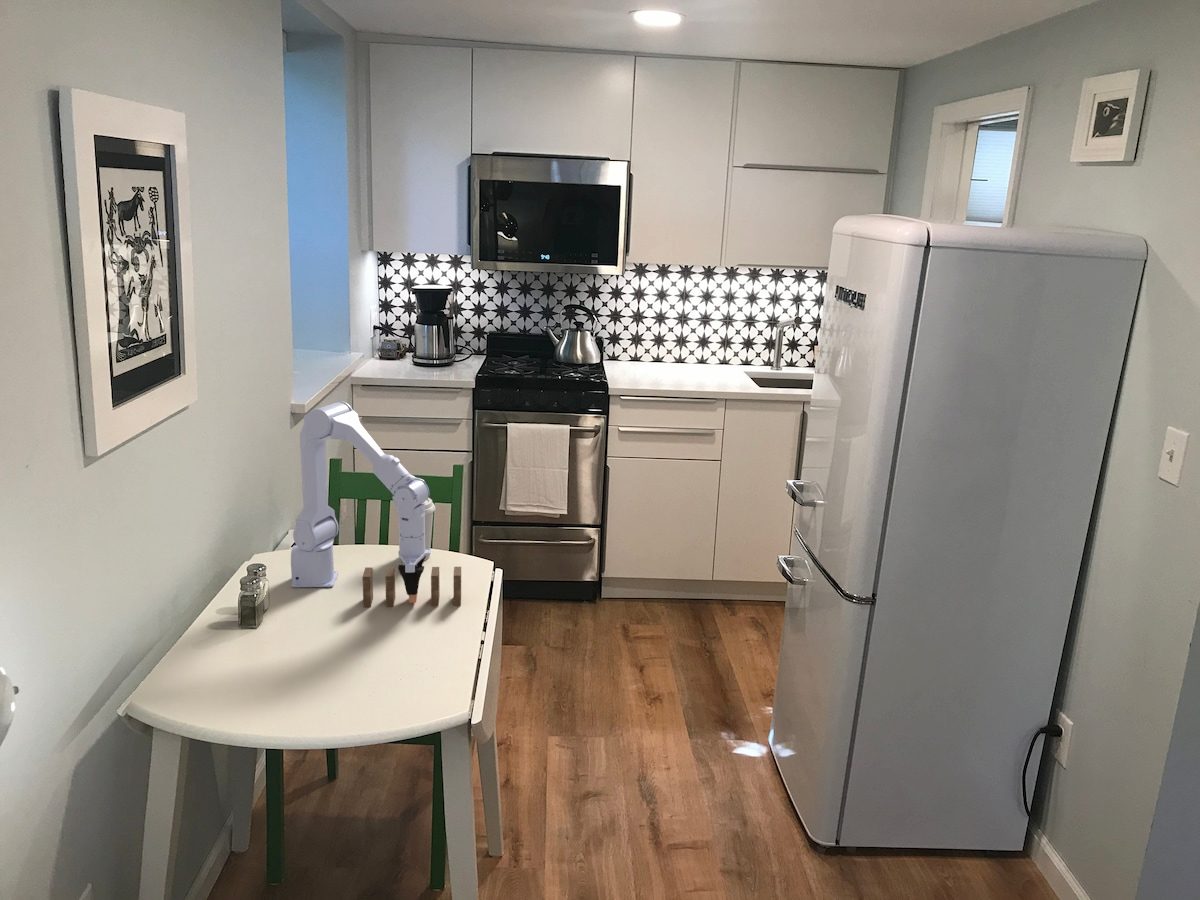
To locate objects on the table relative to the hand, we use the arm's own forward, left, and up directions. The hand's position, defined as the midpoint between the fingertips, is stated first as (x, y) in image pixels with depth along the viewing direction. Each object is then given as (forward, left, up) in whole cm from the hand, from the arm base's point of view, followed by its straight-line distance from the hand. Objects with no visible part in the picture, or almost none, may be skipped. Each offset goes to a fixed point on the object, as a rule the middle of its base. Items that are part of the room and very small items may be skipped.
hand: (412, 589), depth 213 cm
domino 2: (-5, 0, -3) cm, 6 cm away
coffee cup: (-1, +26, -3) cm, 26 cm away
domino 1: (-10, 0, -3) cm, 10 cm away
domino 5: (+10, 0, -3) cm, 10 cm away
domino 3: (0, 0, -2) cm, 2 cm away
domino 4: (+5, 0, -3) cm, 6 cm away
